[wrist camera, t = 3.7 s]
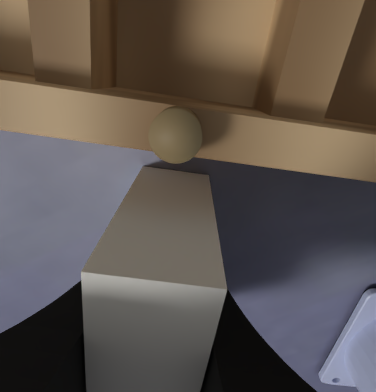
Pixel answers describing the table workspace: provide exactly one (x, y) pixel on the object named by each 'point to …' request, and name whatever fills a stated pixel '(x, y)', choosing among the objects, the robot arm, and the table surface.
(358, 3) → the wooden compartment tray
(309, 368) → the table surface
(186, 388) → the white rectangular box
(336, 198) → the table surface
